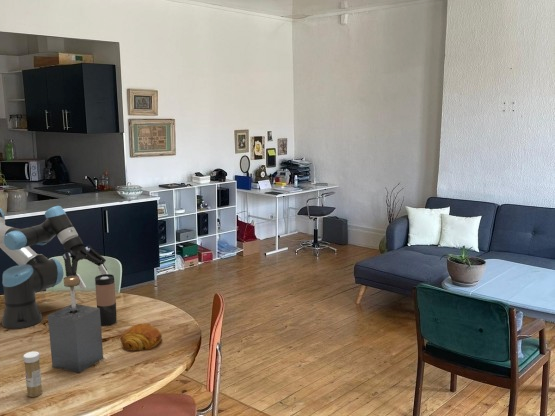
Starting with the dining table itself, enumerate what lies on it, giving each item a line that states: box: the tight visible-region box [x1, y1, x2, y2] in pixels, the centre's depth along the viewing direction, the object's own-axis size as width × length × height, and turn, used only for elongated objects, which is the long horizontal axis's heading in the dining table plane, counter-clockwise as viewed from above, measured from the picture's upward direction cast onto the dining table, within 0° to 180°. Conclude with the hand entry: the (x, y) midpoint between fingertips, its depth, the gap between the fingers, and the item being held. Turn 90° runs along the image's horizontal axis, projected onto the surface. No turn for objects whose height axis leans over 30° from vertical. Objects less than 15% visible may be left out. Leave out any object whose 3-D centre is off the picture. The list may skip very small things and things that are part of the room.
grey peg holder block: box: [47, 303, 104, 374], centre depth 195 cm, size 12×12×19 cm
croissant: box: [120, 323, 163, 351], centre depth 211 cm, size 14×16×8 cm
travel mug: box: [94, 273, 117, 327], centre depth 230 cm, size 8×8×20 cm
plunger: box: [63, 276, 80, 314], centre depth 193 cm, size 9×9×20 cm
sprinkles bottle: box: [22, 350, 43, 398], centre depth 174 cm, size 5×5×14 cm
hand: (96, 283), depth 231 cm, fingers open, 13 cm apart
